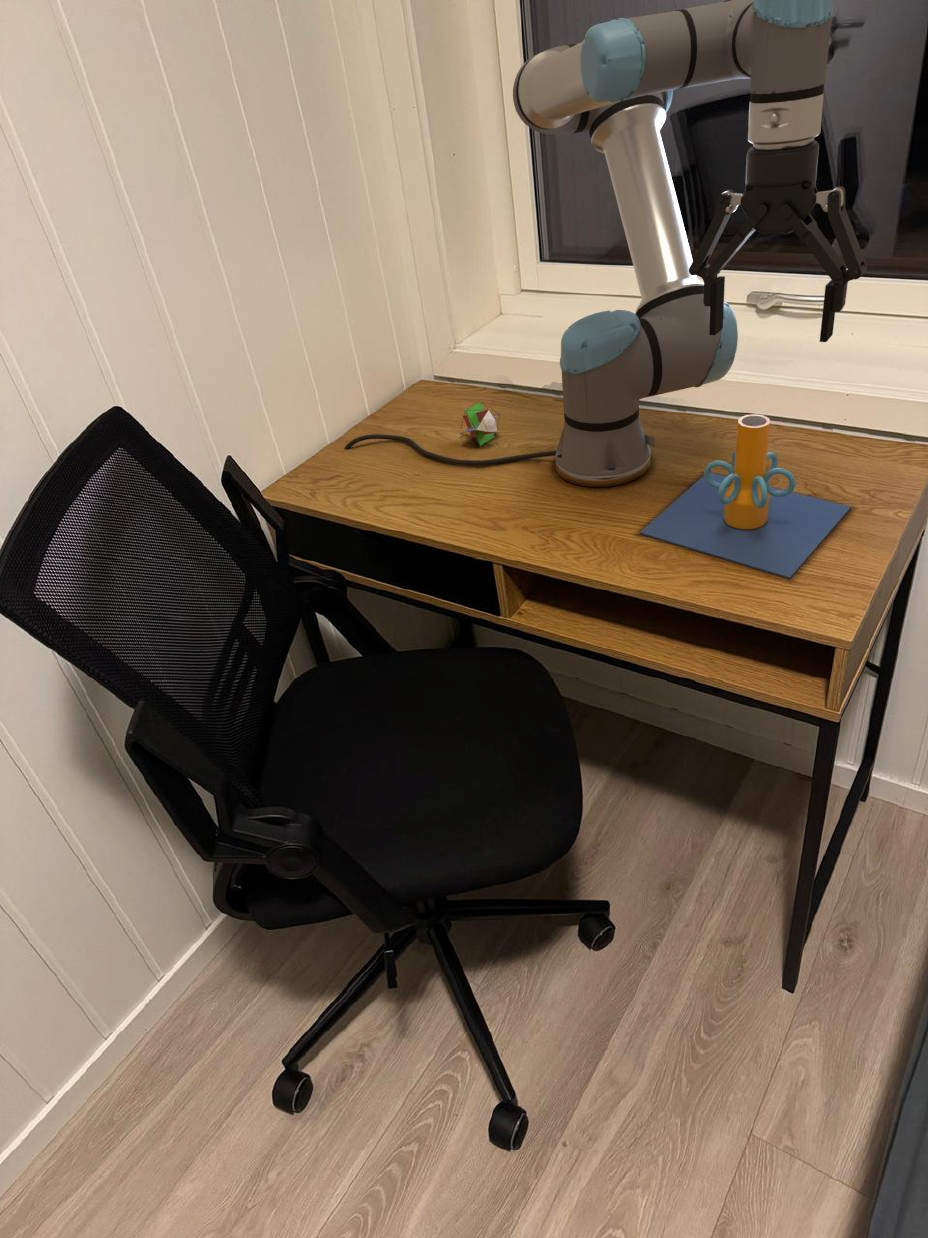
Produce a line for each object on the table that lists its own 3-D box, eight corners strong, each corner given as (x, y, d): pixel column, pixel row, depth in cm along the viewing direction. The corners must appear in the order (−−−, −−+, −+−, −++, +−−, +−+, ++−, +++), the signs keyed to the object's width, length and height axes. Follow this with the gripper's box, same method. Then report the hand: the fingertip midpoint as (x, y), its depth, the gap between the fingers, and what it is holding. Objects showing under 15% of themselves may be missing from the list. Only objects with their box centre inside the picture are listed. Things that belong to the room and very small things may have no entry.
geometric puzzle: (445, 431, 151) (461, 402, 145) (470, 415, 155) (487, 386, 149) (473, 460, 151) (490, 432, 144) (497, 443, 155) (515, 416, 148)
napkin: (639, 533, 121) (639, 532, 121) (707, 473, 133) (707, 471, 132) (789, 579, 109) (790, 577, 109) (851, 508, 120) (851, 506, 120)
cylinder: (695, 503, 125) (699, 408, 116) (765, 493, 125) (775, 396, 116) (722, 547, 116) (729, 447, 107) (798, 536, 116) (812, 434, 107)
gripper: (662, 154, 98) (662, 338, 110) (897, 141, 85) (868, 352, 97) (688, 142, 103) (685, 320, 115) (914, 128, 90) (884, 330, 102)
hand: (769, 335), depth 106 cm, fingers open, 13 cm apart
